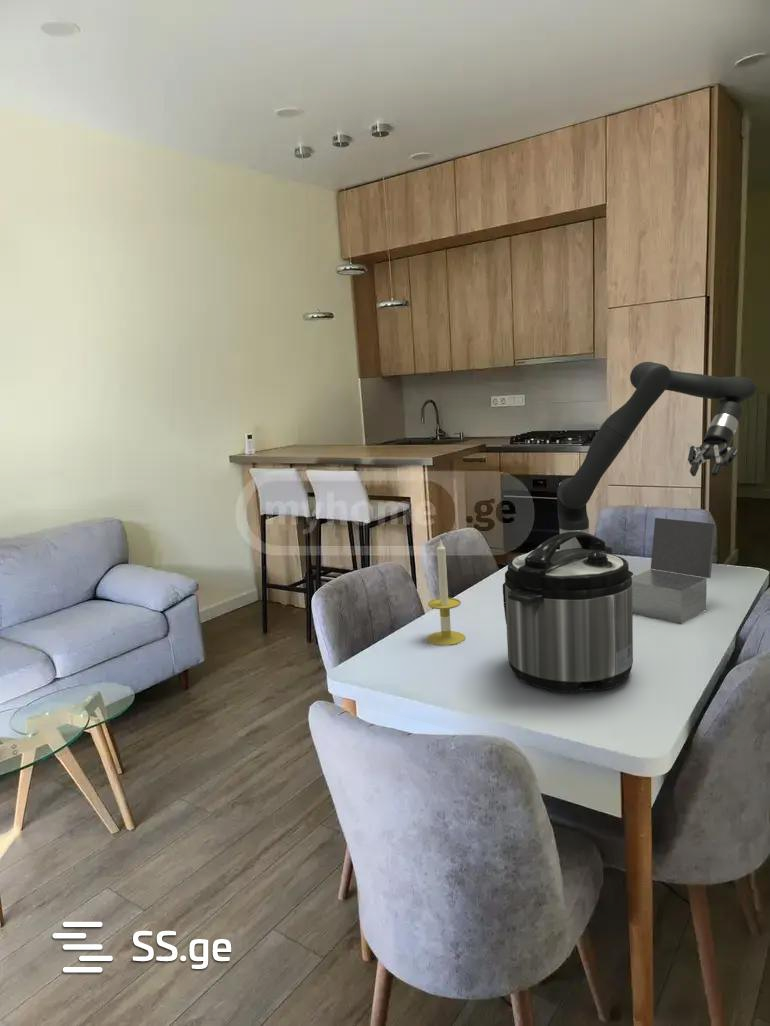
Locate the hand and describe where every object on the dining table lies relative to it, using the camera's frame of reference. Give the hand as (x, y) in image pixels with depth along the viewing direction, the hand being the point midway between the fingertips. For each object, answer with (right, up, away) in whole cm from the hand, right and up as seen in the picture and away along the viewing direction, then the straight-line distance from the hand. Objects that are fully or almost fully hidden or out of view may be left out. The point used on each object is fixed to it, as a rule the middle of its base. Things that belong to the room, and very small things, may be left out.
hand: (702, 475), depth 203 cm
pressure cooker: (-55, -47, -52) cm, 89 cm away
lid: (-13, -21, -15) cm, 29 cm away
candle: (-80, -45, -27) cm, 95 cm away
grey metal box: (-19, -38, -18) cm, 47 cm away
